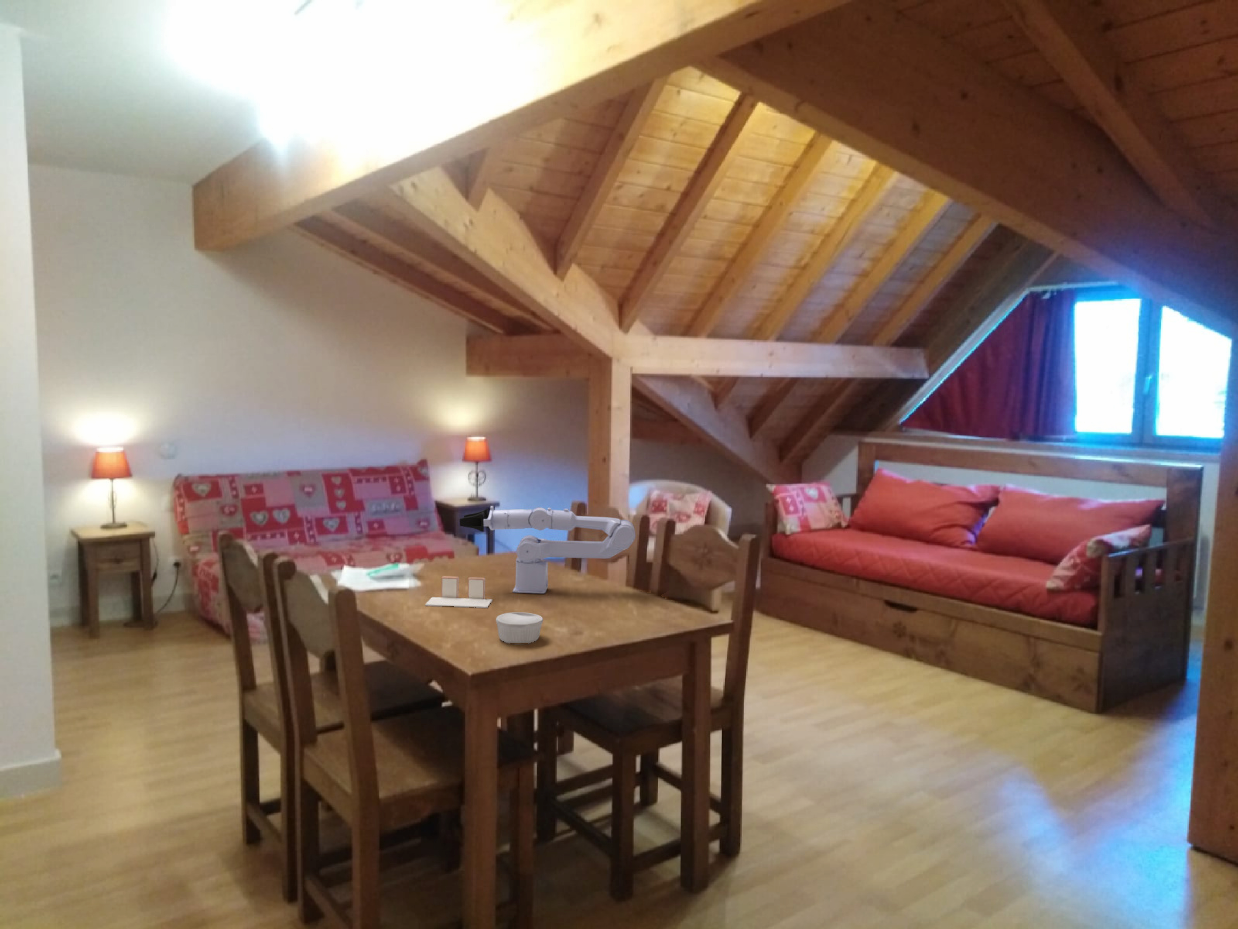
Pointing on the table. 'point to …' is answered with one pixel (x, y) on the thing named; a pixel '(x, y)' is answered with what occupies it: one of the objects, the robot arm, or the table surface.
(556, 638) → the table surface
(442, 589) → the tile
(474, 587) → the tile
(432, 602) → the felt mat
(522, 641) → the ramekin
